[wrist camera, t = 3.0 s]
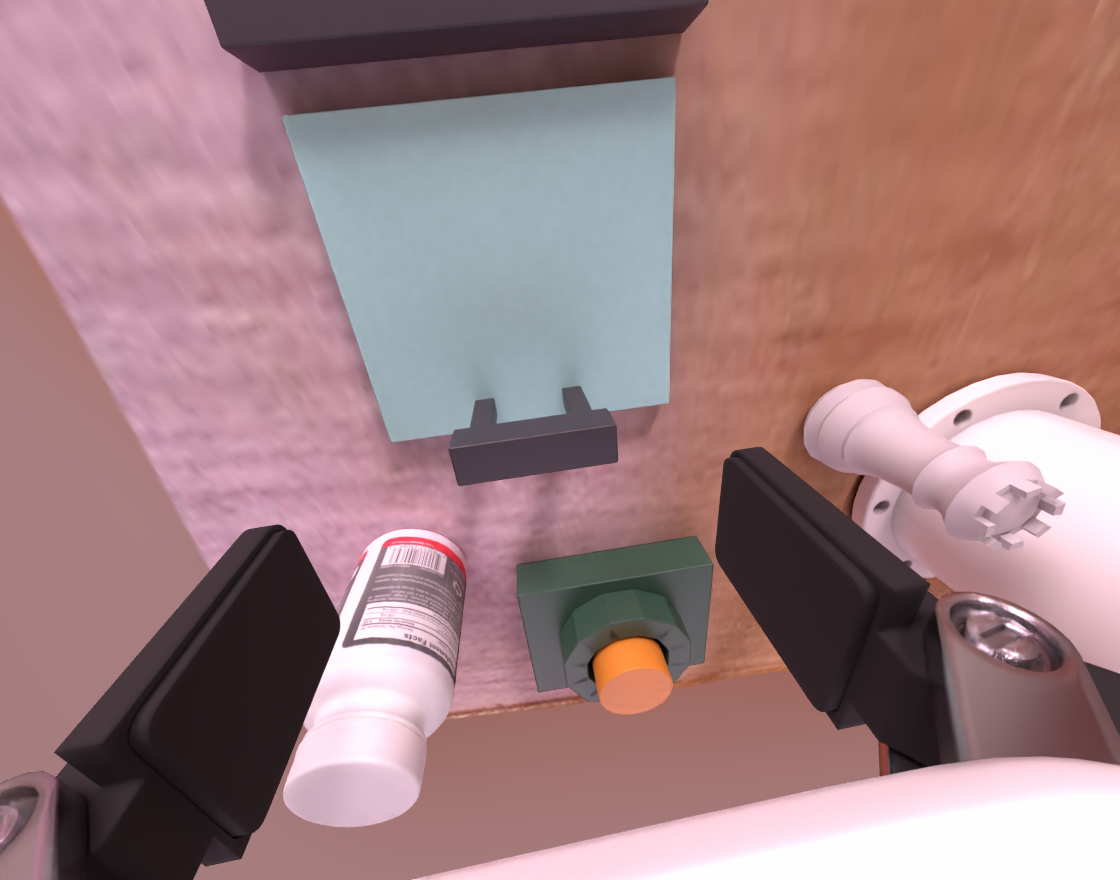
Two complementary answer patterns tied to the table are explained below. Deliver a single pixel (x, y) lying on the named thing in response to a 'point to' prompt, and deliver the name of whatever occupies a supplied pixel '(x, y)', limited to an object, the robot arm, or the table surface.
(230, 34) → the bar
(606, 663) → the button
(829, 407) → the rook chess piece
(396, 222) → the pale blue flat panel
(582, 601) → the button box
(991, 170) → the table surface
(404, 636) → the pill bottle
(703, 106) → the table surface
